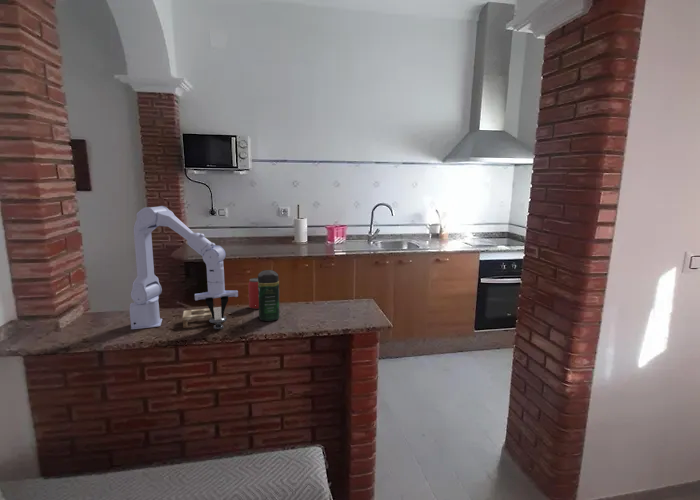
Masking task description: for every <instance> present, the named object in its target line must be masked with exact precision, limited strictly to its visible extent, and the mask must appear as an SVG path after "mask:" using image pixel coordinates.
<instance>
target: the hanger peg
mask: <svg viewBox="0 0 700 500" xmlns="http://www.w3.org/2000/svg"><path fill="white" fill-rule="evenodd" d="M213 308H214V318H215V319H213V318H212V317H209V319H208V320H209V321H208V322H209V323H211V324H214V325H213V329H214V330H219V331H220V330H223V329H224V324H221V323H223V322H224V323H225V322H226V321H227V320H228V319H227V318H228V317H227V316H226V315H224V316H223V317H224V318H222V316H221V306H218V307H217V306H216V307H213Z"/></svg>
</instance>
